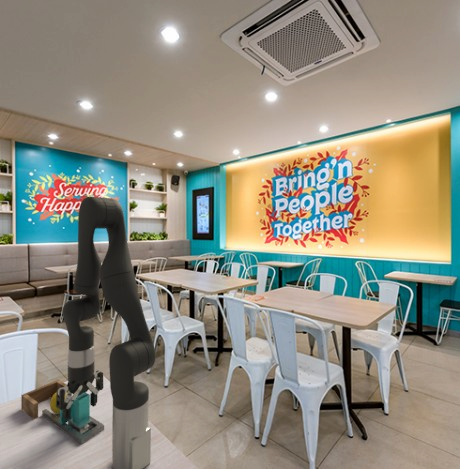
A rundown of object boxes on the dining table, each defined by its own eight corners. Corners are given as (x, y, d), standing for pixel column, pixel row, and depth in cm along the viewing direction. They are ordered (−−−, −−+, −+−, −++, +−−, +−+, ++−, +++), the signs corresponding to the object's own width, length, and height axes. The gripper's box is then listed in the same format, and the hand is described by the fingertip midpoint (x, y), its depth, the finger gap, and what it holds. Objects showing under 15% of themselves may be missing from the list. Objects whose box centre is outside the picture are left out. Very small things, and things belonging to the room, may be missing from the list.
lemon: (60, 420, 96) (60, 396, 95) (46, 417, 97) (46, 393, 97) (72, 409, 101) (72, 387, 101) (59, 407, 102) (59, 385, 102)
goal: (71, 400, 106) (71, 387, 106) (34, 419, 96) (34, 404, 96) (58, 392, 111) (58, 379, 111) (21, 409, 101) (21, 395, 101)
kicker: (99, 424, 93) (99, 393, 93) (74, 439, 87) (74, 405, 86) (84, 414, 98) (84, 385, 98) (59, 428, 91) (59, 396, 91)
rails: (104, 429, 91) (104, 425, 91) (81, 444, 85) (81, 439, 85) (64, 404, 104) (64, 399, 104) (42, 415, 98) (42, 410, 98)
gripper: (64, 373, 83) (64, 429, 84) (108, 356, 95) (108, 404, 96) (51, 366, 87) (51, 419, 88) (95, 350, 99) (95, 397, 100)
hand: (80, 411), depth 92 cm, fingers open, 8 cm apart
